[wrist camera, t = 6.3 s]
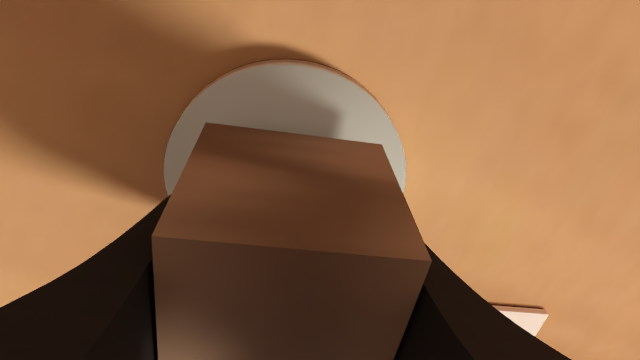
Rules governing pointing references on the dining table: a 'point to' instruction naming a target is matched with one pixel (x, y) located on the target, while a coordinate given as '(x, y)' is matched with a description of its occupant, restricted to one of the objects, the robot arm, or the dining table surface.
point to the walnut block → (285, 251)
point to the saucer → (285, 110)
